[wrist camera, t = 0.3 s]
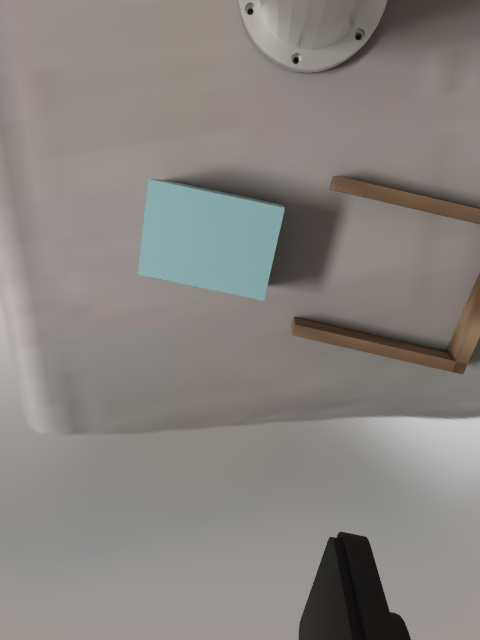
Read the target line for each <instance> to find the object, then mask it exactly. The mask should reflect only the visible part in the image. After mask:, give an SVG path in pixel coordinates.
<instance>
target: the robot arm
mask: <svg viewBox="0 0 480 640" xmlns="http://www.w3.org/2000/svg"><path fill="white" fill-rule="evenodd" d="M387 1H388V0H239V6H240V11H241V15H242V18H243V22H244V25H245V28H246V30H247V32H248V34H249V36H250V38H251V40H252V41H253V43H254V44H255V45H256V47H257V48H258V49H259V50H260V52H261V53H262V54H263V55H264V56H266V57H267V58H268V59H269V60H270V61H271V62H273V63H275V64H277V65H278V66H280V67H282V68H284V69H287V70H291V71H294V72H300V73H314V72H321V71H325V70H328V69H331V68H333V67H336V66H338V65H340V64H341V63H343V62H345V61H346V60H348V59H350V58H351V57H352V56H353V55H354V54H355V53H356V52H357V51H359V50H360V49H361V48H362V46H363V45H364V44H365V43H366V41H367V40H368V39H369V38H370V36H371V35H372V33H373V32H374V30H375V29H376V27H377V26H378V24H379V21H380V19H381V17H382V15H383V13H384V11H385V8H386V4H387ZM249 10H252V11H253V14H252V15H249V14H248V11H249ZM356 35H359V36H360V40H356V39H355V36H356ZM295 58H297V59H298V60H299V62H298V63H297V64H295V63H294V62H293V60H294V59H295ZM299 640H411V639H410V636H409V633H408V630H407V627H406V625H405V622H404V620H403V619H402V618H401V616H400V615H398V614H396V613H391V612H389V608H388V605H387V601H386V598H385V595H384V592H383V588H382V584H381V581H380V577H379V574H378V570H377V567H376V563H375V560H374V557H373V553H372V550H371V546H370V543H369V540H368V539H367V537H364V536H359V535H355V534H350V533H345V532H340V533H338V535H337V538H333V537H330V538H329V540H328V542H327V545H326V548H325V551H324V554H323V557H322V560H321V563H320V566H319V569H318V571H317V574H316V577H315V580H314V583H313V586H312V589H311V591H310V594H309V597H308V600H307V603H306V606H305V609H304V612H303V615H302V617H301V621H300V626H299Z"/></svg>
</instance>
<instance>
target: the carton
mask: <svg viewBox="0 0 480 640" xmlns="http://www.w3.org/2000/svg"><path fill="white" fill-rule="evenodd" d="M284 211H285V207H284V206H283V205H282V204H277V203H272V202H267V201H263V200H258V199H253V198H248V197H244V196H239V195H234V194H229V193H225V192H220V191H215V190H210V189H206V188H201V187H196V186H191V185H187V184H182V183H177V182H172V181H168V180H157V179H149V180H148V188H147V197H146V206H145V214H144V223H143V231H142V240H141V249H140V257H139V266H138V274H139V275H144V276H149V277H153V278H158V279H163V280H168V281H172V282H177V283H182V284H187V285H191V286H196V287H201V288H206V289H210V290H215V291H220V292H225V293H229V294H234V295H239V296H244V297H248V298H253V299H258V300H263V301H264V298H265V294H266V290H267V285H268V281H269V276H270V272H271V268H272V263H273V259H274V254H275V250H276V246H277V241H278V237H279V233H280V228H281V224H282V219H283V215H284Z"/></svg>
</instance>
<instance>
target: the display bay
mask: <svg viewBox="0 0 480 640" xmlns="http://www.w3.org/2000/svg"><path fill="white" fill-rule="evenodd" d="M330 190H335V191H339V192H343V193H348V194H352V195H356V196H361V197H365V198H369V199H373V200H378V201H382V202H386V203H391V204H395V205H399V206H404V207H408V208H412V209H417V210H421V211H425V212H430V213H434V214H438V215H442V216H447V217H451V218H455V219H460V220H464V221H468V222H473V223H477V224H480V209H477V208H473V207H469V206H464V205H460V204H456V203H451V202H447V201H443V200H439V199H434V198H430V197H426V196H421V195H417V194H413V193H408V192H404V191H400V190H395V189H391V188H387V187H383V186H378V185H374V184H370V183H365V182H361V181H357V180H352V179H348V178H344V177H339V176H334V177H333V179H332V183H331V186H330ZM291 329H292V335H294V336H298V337H302V338H307V339H311V340H316V341H320V342H324V343H329V344H333V345H337V346H342V347H346V348H350V349H355V350H359V351H363V352H368V353H372V354H377V355H381V356H385V357H390V358H394V359H398V360H403V361H407V362H411V363H416V364H420V365H425V366H429V367H433V368H438V369H442V370H446V371H451V372H455V373H459V374H463V373H464V371H465V369H466V367H467V364H468V362H469V360H470V358H471V355H472V353H473V351H474V349H475V347H476V344H477V342H478V340H479V338H480V273H479V276H478V278H477V280H476V283H475V285H474V287H473V290H472V292H471V295H470V297H469V299H468V302H467V304H466V306H465V309H464V311H463V313H462V316H461V318H460V320H459V323H458V325H457V327H456V330H455V332H454V334H453V337H452V339H451V342H450V344H449V346H448V349H447V351H446V352H444V351H440V350H435V349H431V348H427V347H422V346H418V345H414V344H409V343H405V342H401V341H396V340H392V339H388V338H383V337H379V336H374V335H370V334H366V333H361V332H357V331H353V330H348V329H344V328H340V327H335V326H331V325H327V324H322V323H318V322H314V321H309V320H305V319H300V318H296V317H294V319H293V323H292V326H291Z"/></svg>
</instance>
